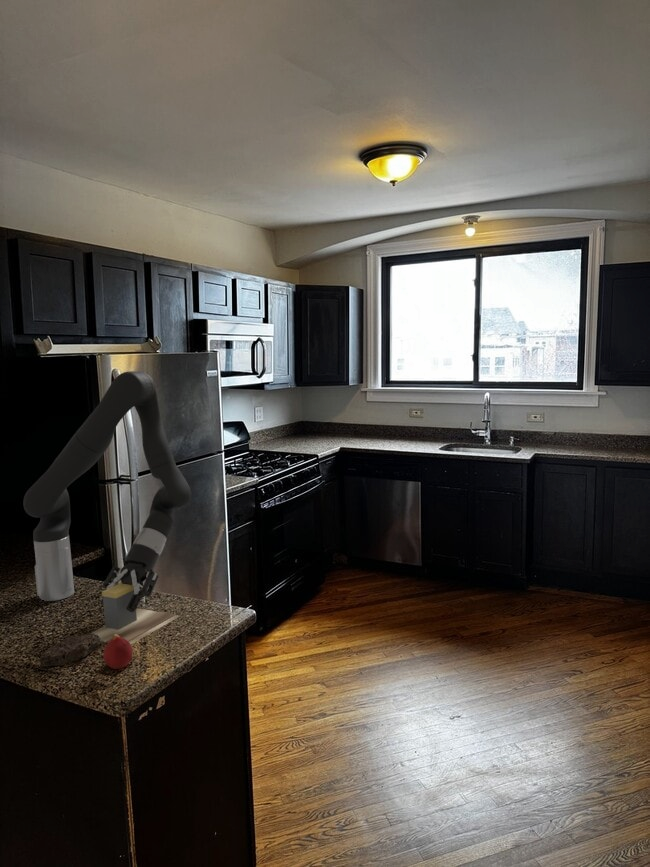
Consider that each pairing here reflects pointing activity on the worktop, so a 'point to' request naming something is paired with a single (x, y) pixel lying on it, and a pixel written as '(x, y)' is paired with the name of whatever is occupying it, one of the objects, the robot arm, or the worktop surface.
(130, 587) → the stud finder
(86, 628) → the worktop surface
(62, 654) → the concrete sample
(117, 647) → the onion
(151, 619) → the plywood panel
